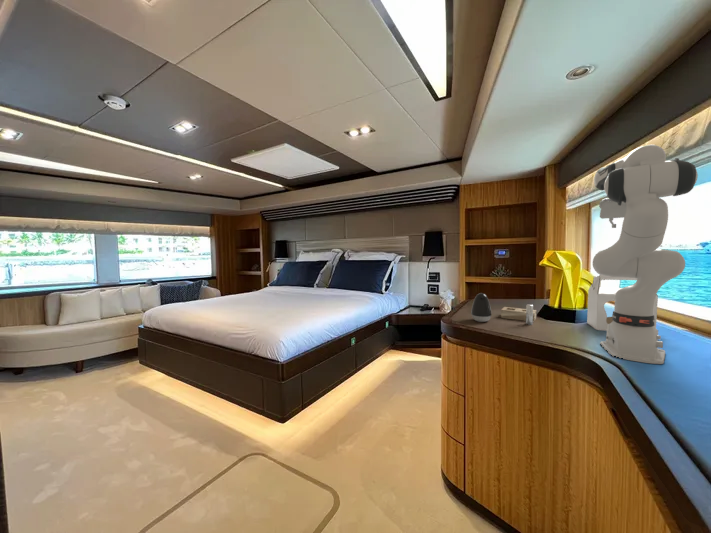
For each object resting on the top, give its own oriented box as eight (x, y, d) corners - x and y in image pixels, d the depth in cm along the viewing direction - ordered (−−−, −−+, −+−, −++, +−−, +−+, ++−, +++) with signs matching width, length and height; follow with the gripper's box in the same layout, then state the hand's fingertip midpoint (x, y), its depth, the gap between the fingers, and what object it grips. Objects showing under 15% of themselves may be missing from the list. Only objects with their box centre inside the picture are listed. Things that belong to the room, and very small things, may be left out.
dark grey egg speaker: (471, 322, 160) (472, 294, 159) (470, 318, 170) (470, 291, 169) (492, 323, 157) (493, 295, 156) (490, 319, 167) (490, 291, 166)
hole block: (534, 321, 159) (534, 313, 159) (501, 317, 169) (501, 309, 168) (536, 318, 166) (536, 310, 166) (504, 314, 176) (504, 306, 176)
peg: (532, 325, 153) (532, 305, 152) (525, 324, 155) (525, 305, 154) (532, 323, 155) (533, 304, 154) (526, 323, 157) (526, 304, 156)
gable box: (642, 326, 147) (645, 269, 144) (656, 334, 134) (660, 272, 132) (586, 323, 155) (588, 268, 153) (595, 330, 143) (597, 271, 141)
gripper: (599, 198, 141) (598, 228, 142) (661, 193, 129) (659, 226, 130) (599, 199, 146) (598, 228, 147) (658, 195, 134) (656, 226, 135)
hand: (627, 227), depth 138 cm, fingers open, 8 cm apart
